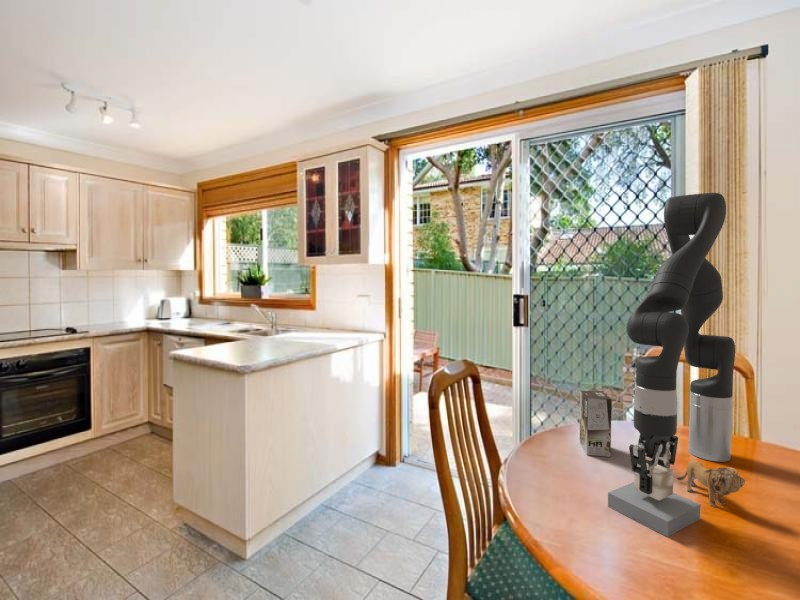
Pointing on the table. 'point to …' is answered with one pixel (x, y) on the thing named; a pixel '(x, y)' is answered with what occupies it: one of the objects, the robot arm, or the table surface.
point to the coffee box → (595, 423)
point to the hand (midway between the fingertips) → (653, 488)
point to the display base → (655, 509)
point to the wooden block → (658, 482)
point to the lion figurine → (713, 480)
